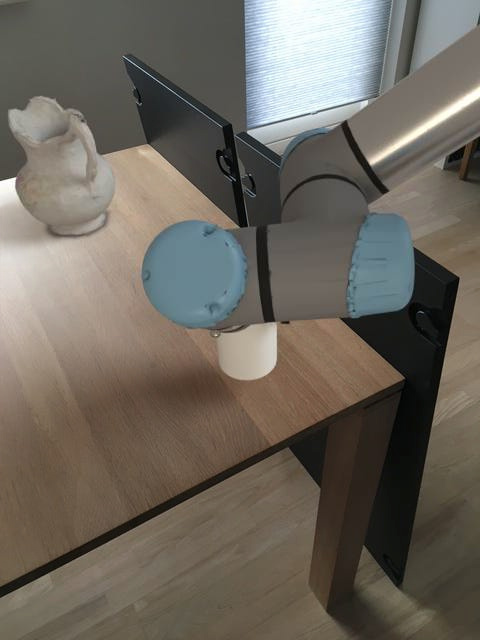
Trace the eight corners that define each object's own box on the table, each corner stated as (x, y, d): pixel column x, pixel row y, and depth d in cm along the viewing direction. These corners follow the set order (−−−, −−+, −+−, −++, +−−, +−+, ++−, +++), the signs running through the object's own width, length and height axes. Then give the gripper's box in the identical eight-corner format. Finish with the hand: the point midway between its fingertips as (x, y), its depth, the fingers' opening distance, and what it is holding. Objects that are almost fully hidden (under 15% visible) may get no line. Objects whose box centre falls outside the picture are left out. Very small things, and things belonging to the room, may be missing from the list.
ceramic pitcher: (148, 216, 117) (133, 97, 102) (92, 259, 103) (64, 128, 88) (70, 198, 125) (45, 84, 109) (8, 235, 111) (-31, 111, 96)
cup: (284, 372, 74) (285, 279, 63) (226, 386, 72) (217, 293, 62) (266, 333, 80) (264, 242, 69) (212, 345, 78) (202, 254, 68)
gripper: (115, 326, 53) (172, 333, 75) (331, 338, 50) (324, 341, 73) (120, 250, 53) (176, 280, 76) (335, 258, 51) (327, 286, 73)
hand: (248, 310), depth 74 cm, fingers closed on cup, 8 cm apart
